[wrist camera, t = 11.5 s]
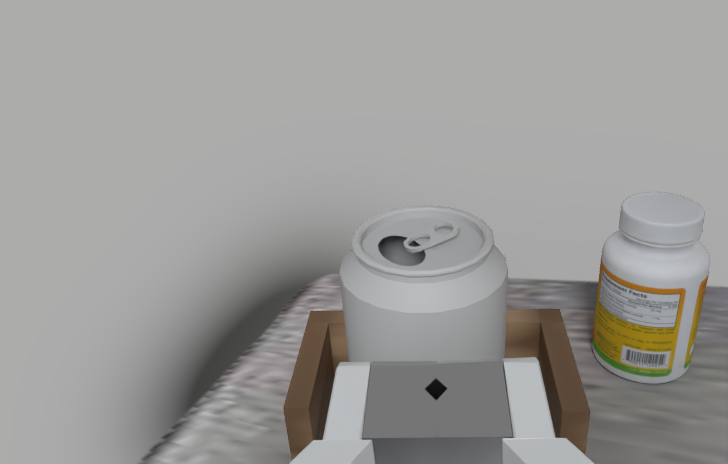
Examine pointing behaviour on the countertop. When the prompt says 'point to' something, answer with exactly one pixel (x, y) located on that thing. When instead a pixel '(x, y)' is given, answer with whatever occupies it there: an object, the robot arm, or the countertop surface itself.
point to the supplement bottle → (651, 288)
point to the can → (424, 288)
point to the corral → (523, 339)
